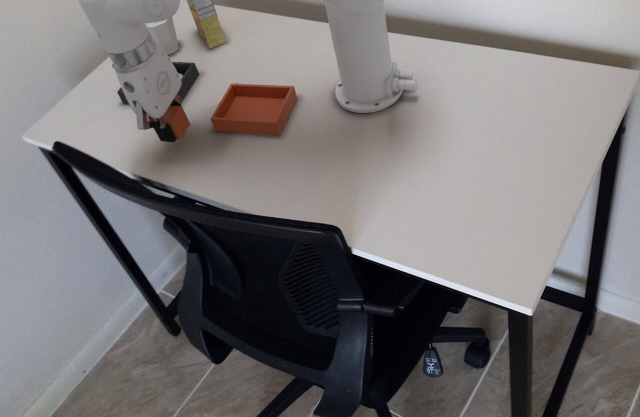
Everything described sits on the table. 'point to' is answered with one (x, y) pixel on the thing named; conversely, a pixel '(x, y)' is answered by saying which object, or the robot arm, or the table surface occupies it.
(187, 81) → the charcoal bin
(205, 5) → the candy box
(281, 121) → the terracotta bin
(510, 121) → the table surface
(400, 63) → the table surface
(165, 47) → the cup
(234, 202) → the table surface
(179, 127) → the terracotta block
